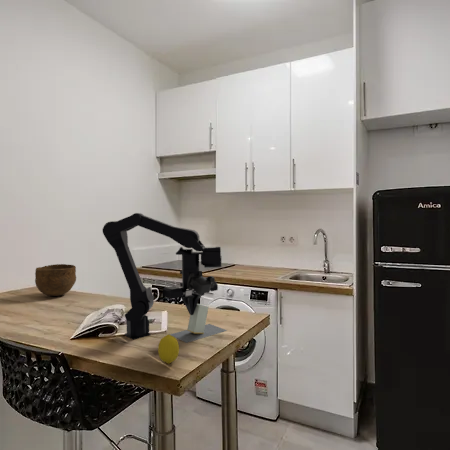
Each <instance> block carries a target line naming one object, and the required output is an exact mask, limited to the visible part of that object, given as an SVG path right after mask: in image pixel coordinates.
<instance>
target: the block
mask: <svg viewBox="0 0 450 450" xmlns="http://www.w3.org/2000/svg"><path fill="white" fill-rule="evenodd" d="M208 312H209V306H208V305H205V304H201V303H197V305H196V308H195V311H194V314H193V315H190V314H189V319H188V323H187V324H188V325H187V328H186V330H188V331H190V332H192V333H200V334H204V329H205V325H207V318H208Z"/></svg>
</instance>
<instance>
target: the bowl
mask: <svg viewBox="0 0 450 450" xmlns="http://www.w3.org/2000/svg"><path fill="white" fill-rule="evenodd" d="M76 269H77V268H76V265H74V264H64V263H63V264H62V263H61V264H59V263H57V264H50V265H44V266H39V267H36V268H35V273H34V275H35V280H34V283H35V285H36V288H37V289H38V291H39V292H40V293H41V294H43V295H45V296H53V297H60V296H63V295H65V294H67V293H69V292H70V291H71V289H72V288H73V287H74V286H75V283H76V281H77V275H76V273H77V270H76Z"/></svg>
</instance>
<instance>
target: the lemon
mask: <svg viewBox="0 0 450 450" xmlns="http://www.w3.org/2000/svg"><path fill="white" fill-rule="evenodd" d="M170 334H171V333H169V334H166V335H164V336H163V337H162V338H160V340H159V343H158V348H157V352H158V357H159V359H160V360H161V361H162V362H164V363H166V364H168V365H170V364H171V363H172V362H174V361H176V359H177V358H178V356H179V353H180V345H179V342H178V339H177V338H175V337H173V336H171V335H170Z"/></svg>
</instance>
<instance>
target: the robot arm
mask: <svg viewBox="0 0 450 450" xmlns="http://www.w3.org/2000/svg"><path fill="white" fill-rule="evenodd" d="M136 227H141V228H144V229H146V230H149V231H152V232H153V233H154V232H155V233H157V234H160V235H163V236H165V237H167V238H169V239H171V240H173V241H175V242H176V243H177V244H180V245H181V247H179V249H178V251H176V252H175V255H178V256H179V255H181V270H180V271H179V274H180V275H181V280H182V281H181V282H180V283H179V286H180V287H179V286H175V285H172V286H165V287H164V288H163V289H162V296H163V297H164V298H168V299H172V300H174V299H179V298H180V299H182V302H183V303H184V305H185V307H186V310H187V313H188V314H189V316H190V315H193V314H194V311H195V308H196V305H197V304H198V303H199V300H200V298H202V297H203V296H204V295H206V293H207V294H208V293H210V292H215V291H218V290H219V286H218V283H217V281H216V280H215V277H214V276H212V275H210V276H207V277H204V275H203V272H202V270H200V265H202V266H203V267H204V268H205V269H206V268H207V269H208V268H209V269H210V268H212V269H213V268H214V269H215V268H222V265H223V264H222V253H221V250H222V249H221V246H215V247H213V246H212V247H205V244H203V243H202V241H201V240H200V235H199V233H198V231H196V230H195V229H190V228H184V227H178V226H173V225H171V224H168V223H165V222H164V221H161V220H158V219H154V218H152V217H149V216H147V215H144V214H143V213H141V212H140V213H139V212H135V213H133V214H132V215H129V216H127V217H125V218H122V219H119V220H117V221H116V220H114V221H108V222H106V223H105V224H104V225H103V227H102V235H103V236H104V238H105V239H106V241H107V243H108V244H109V246H111V247H112V248H113V250H114V252H115V255H116V256H117V259H118V262H119V264H120V268H121V270H122V273H123V275H124V278H125V281H126V283H127V285H128V289H129V300H130V307H131V308H130V309H129V310H128V311H127V312H125V314H124V317H125V320H126V321H125V322H126V333H124V336H126V338H129V339H131V340H138V339H141V338H145V337H149V336H151V333H150V320H149V316H148V315H147V314H148V312H149V311H150V310H151V308H152V307H153V305H154V302H155V301H154V299H155V296H154V295H153V291H152V289H151V286H149V287H146V286H145V285H144V283H143V281H142V279H141V276H140V273H139V271H138V269H137V265H136V262H135V260H134V258H133V255H132V253H131V250H130V247H129V240H128V231H130V230H133V229H134V228H136ZM183 247H184V248H183ZM193 250H195V251H193Z"/></svg>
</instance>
